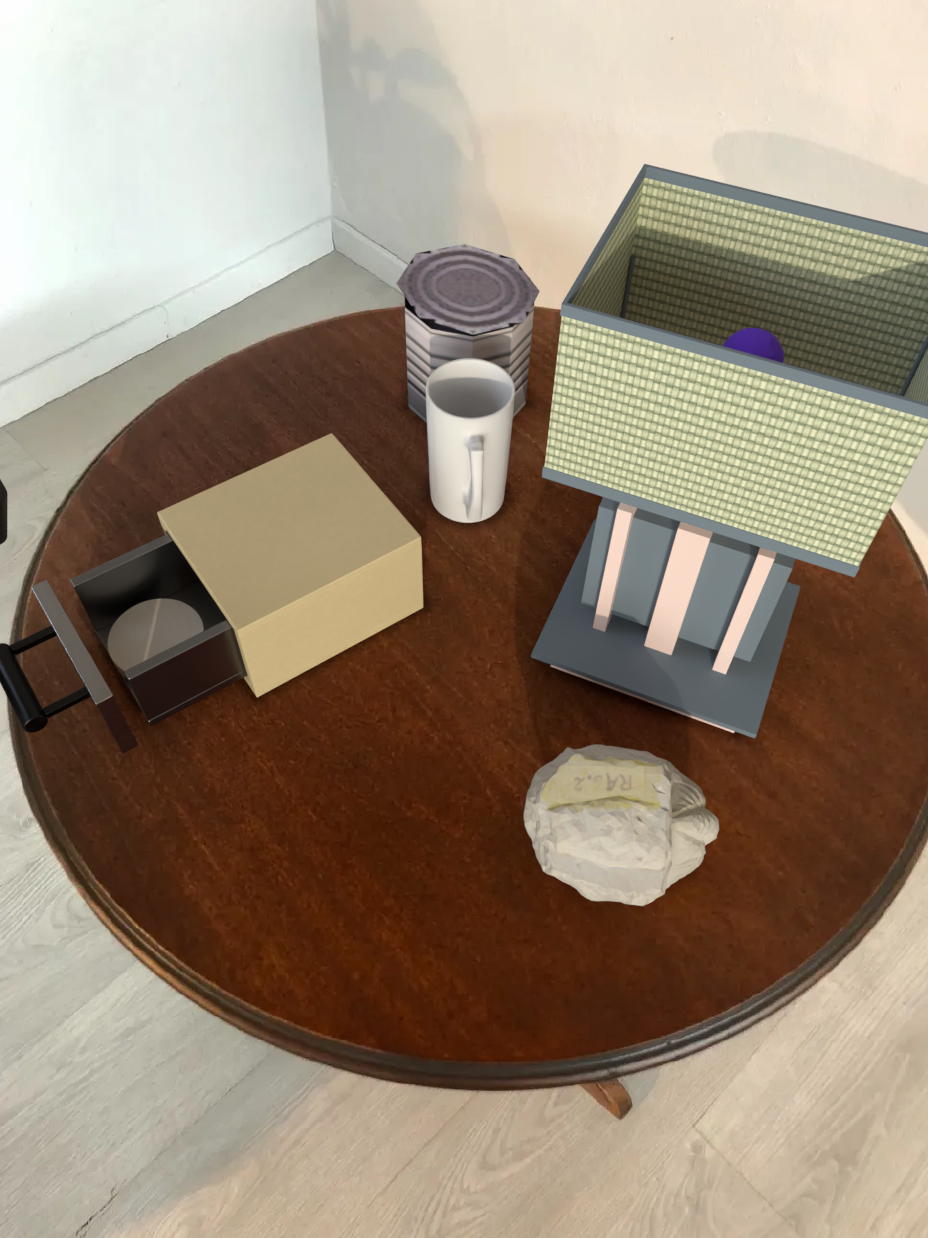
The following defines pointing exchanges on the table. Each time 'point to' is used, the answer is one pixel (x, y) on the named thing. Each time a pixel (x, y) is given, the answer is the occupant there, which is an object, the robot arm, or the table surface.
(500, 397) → the mug
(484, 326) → the can
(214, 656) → the drawer
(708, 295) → the desk lamp
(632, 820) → the fossil replica
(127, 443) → the table surface
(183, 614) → the cylinder
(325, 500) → the tan cardboard box
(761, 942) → the table surface
